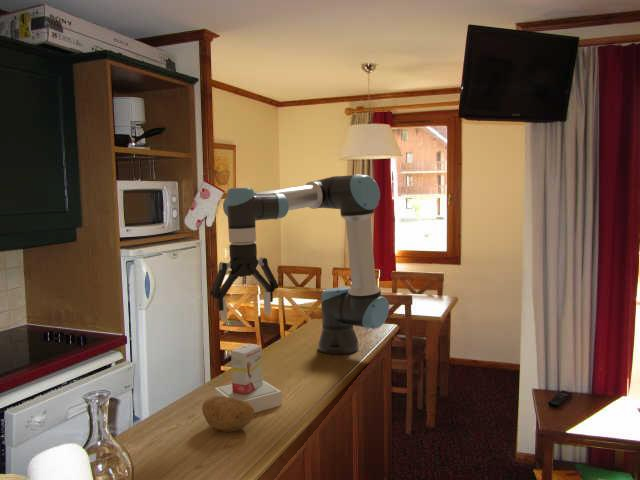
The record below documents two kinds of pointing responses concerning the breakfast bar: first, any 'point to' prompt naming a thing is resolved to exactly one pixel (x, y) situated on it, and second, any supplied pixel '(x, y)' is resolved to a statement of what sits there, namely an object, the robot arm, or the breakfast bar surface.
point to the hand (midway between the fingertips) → (246, 317)
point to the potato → (227, 413)
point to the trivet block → (254, 396)
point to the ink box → (246, 368)
